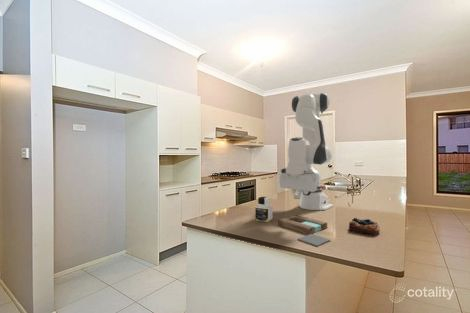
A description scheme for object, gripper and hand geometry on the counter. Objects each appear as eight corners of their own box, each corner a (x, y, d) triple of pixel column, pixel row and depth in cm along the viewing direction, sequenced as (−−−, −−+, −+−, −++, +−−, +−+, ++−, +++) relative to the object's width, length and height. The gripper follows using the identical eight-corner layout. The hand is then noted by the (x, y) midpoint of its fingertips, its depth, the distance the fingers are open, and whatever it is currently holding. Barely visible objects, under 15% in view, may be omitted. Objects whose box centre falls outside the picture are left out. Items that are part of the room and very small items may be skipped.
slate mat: (311, 235, 103) (311, 233, 103) (330, 241, 95) (330, 239, 95) (297, 239, 97) (297, 238, 97) (317, 246, 90) (317, 245, 90)
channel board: (296, 219, 126) (296, 214, 126) (327, 227, 112) (327, 222, 112) (278, 224, 118) (278, 219, 118) (309, 234, 103) (309, 228, 103)
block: (306, 226, 116) (306, 221, 116) (321, 230, 109) (321, 225, 109) (300, 228, 112) (300, 223, 112) (315, 233, 106) (315, 227, 106)
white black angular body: (255, 220, 126) (255, 197, 125) (260, 217, 132) (260, 195, 132) (268, 222, 122) (267, 199, 122) (272, 218, 129) (272, 196, 128)
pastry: (352, 225, 115) (352, 213, 115) (381, 230, 108) (381, 217, 108) (346, 232, 107) (346, 219, 106) (377, 237, 99) (377, 223, 99)
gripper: (319, 171, 110) (319, 201, 110) (285, 169, 126) (285, 195, 126) (311, 171, 106) (311, 202, 106) (277, 169, 122) (277, 196, 122)
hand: (297, 198), depth 116 cm, fingers closed
